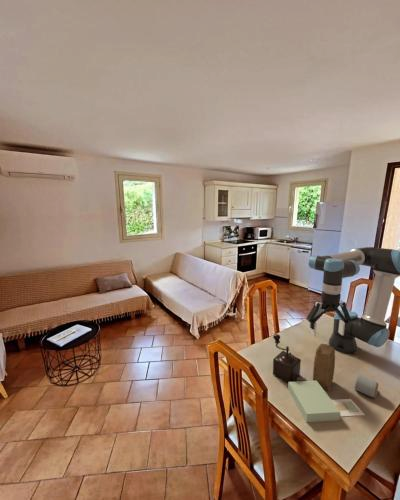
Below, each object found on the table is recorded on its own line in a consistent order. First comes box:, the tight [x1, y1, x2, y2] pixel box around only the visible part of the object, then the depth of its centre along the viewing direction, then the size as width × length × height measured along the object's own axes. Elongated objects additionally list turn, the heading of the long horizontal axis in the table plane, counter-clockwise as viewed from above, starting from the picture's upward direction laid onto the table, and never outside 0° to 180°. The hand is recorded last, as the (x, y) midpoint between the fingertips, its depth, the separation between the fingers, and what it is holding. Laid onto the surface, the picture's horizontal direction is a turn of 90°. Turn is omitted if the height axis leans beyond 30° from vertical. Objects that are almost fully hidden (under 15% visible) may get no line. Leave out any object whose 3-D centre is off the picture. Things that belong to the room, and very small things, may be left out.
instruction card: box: [331, 398, 365, 418], centre depth 96 cm, size 10×8×1 cm
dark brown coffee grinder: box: [272, 333, 302, 384], centre depth 116 cm, size 16×11×18 cm
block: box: [312, 343, 336, 391], centre depth 108 cm, size 11×8×20 cm
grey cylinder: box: [354, 373, 380, 399], centre depth 104 cm, size 11×8×8 cm
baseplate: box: [287, 380, 341, 423], centre depth 98 cm, size 14×17×4 cm
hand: (327, 334), depth 105 cm, fingers open, 13 cm apart
